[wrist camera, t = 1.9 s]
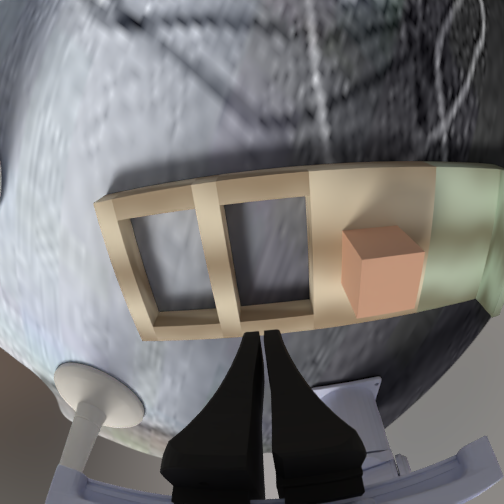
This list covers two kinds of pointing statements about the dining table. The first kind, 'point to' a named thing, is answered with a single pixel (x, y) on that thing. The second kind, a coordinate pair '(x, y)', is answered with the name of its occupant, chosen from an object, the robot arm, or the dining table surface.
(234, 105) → the dining table surface
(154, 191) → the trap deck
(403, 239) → the terracotta block
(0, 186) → the supplement tub
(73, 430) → the candlestick
